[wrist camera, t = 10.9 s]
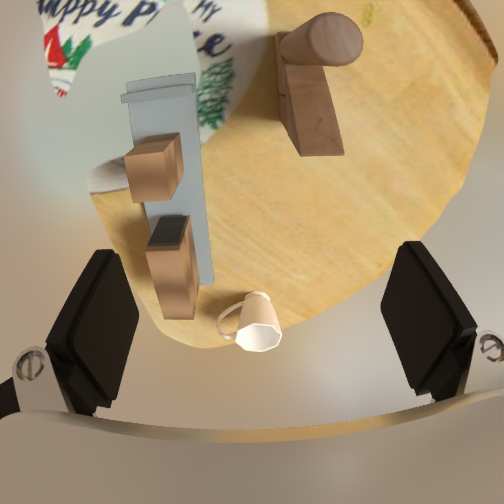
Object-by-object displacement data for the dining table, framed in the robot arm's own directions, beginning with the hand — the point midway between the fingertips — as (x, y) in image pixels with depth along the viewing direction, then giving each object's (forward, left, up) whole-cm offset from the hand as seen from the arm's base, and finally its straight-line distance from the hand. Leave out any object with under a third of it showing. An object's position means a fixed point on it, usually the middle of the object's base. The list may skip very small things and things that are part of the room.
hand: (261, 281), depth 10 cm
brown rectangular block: (+4, -10, -27) cm, 29 cm away
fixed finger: (+17, -10, -27) cm, 34 cm away
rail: (+9, -10, -28) cm, 31 cm away
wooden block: (-5, +5, -28) cm, 29 cm away
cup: (+29, -1, -28) cm, 41 cm away
